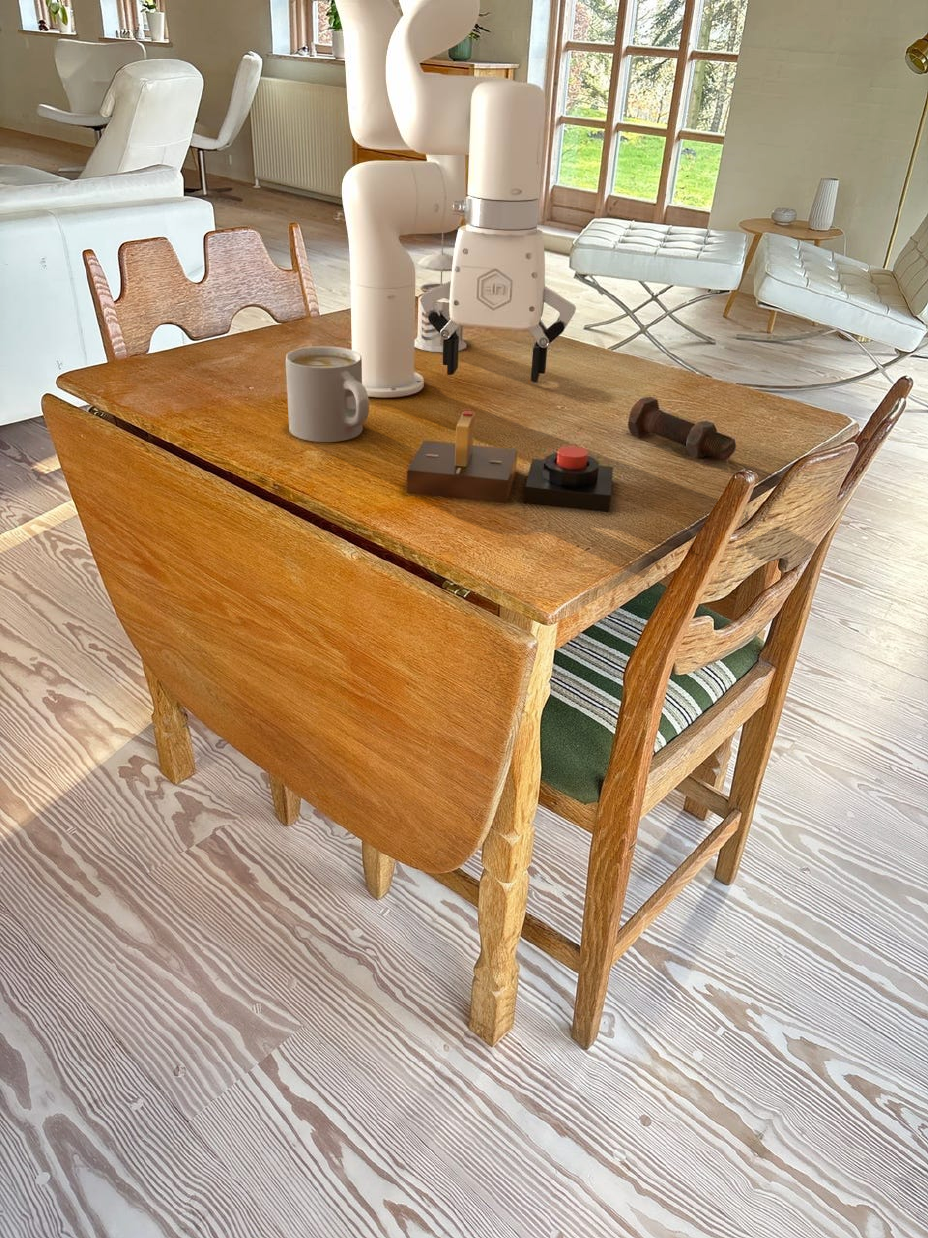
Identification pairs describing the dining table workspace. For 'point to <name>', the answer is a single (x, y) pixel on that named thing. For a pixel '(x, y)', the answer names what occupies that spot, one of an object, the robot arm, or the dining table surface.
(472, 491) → the plate
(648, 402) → the bolt
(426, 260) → the french press
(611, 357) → the dining table surface
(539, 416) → the dining table surface
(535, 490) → the button box
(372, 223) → the robot arm
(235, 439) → the dining table surface
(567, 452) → the red button
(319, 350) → the coffee mug
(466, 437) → the gold slab
